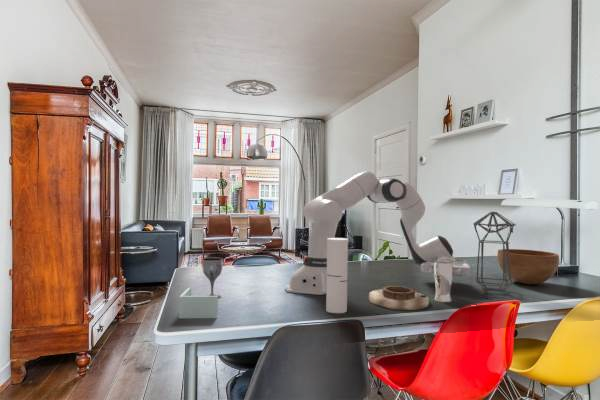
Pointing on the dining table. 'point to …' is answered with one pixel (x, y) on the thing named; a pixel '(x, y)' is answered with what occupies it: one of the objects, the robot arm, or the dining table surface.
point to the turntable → (398, 298)
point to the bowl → (530, 265)
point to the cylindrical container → (336, 275)
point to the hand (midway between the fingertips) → (444, 272)
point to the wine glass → (212, 270)
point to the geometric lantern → (503, 251)
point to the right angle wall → (197, 306)
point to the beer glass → (443, 280)
